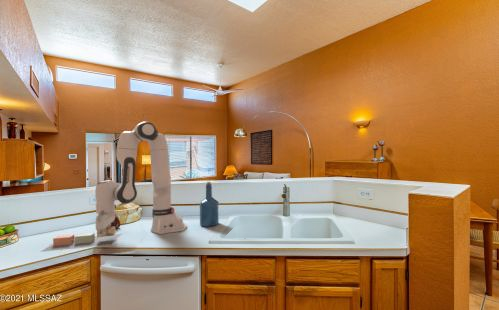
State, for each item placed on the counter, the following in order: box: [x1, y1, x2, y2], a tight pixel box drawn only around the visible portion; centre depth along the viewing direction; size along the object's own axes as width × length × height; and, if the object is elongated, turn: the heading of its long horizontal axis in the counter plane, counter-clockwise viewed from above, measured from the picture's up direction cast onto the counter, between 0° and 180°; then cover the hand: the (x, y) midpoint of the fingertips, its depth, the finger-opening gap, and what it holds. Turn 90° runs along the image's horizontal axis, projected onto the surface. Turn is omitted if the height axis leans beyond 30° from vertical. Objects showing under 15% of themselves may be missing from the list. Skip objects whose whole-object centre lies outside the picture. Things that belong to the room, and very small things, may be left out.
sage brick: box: [74, 232, 96, 244], centre depth 124 cm, size 8×4×4 cm, turn 104°
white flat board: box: [40, 233, 122, 252], centre depth 124 cm, size 32×17×1 cm, turn 104°
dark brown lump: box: [110, 213, 121, 229], centre depth 149 cm, size 7×12×10 cm, turn 84°
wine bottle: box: [199, 181, 220, 228], centre depth 157 cm, size 14×13×30 cm
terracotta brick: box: [52, 234, 75, 246], centre depth 122 cm, size 8×4×4 cm, turn 104°
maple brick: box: [96, 226, 116, 237], centre depth 126 cm, size 8×4×4 cm, turn 106°
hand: (106, 232), depth 126 cm, fingers closed on maple brick, 4 cm apart
